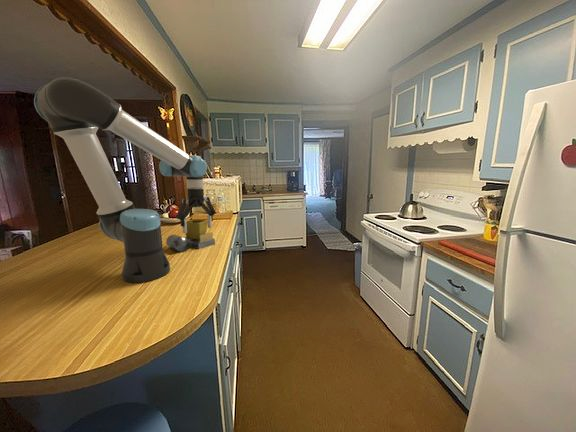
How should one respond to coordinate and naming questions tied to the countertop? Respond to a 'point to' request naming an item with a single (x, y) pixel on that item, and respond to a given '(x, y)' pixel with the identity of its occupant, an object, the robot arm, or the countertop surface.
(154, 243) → the robot arm
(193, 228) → the flower pot
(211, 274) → the countertop surface
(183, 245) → the motor block
